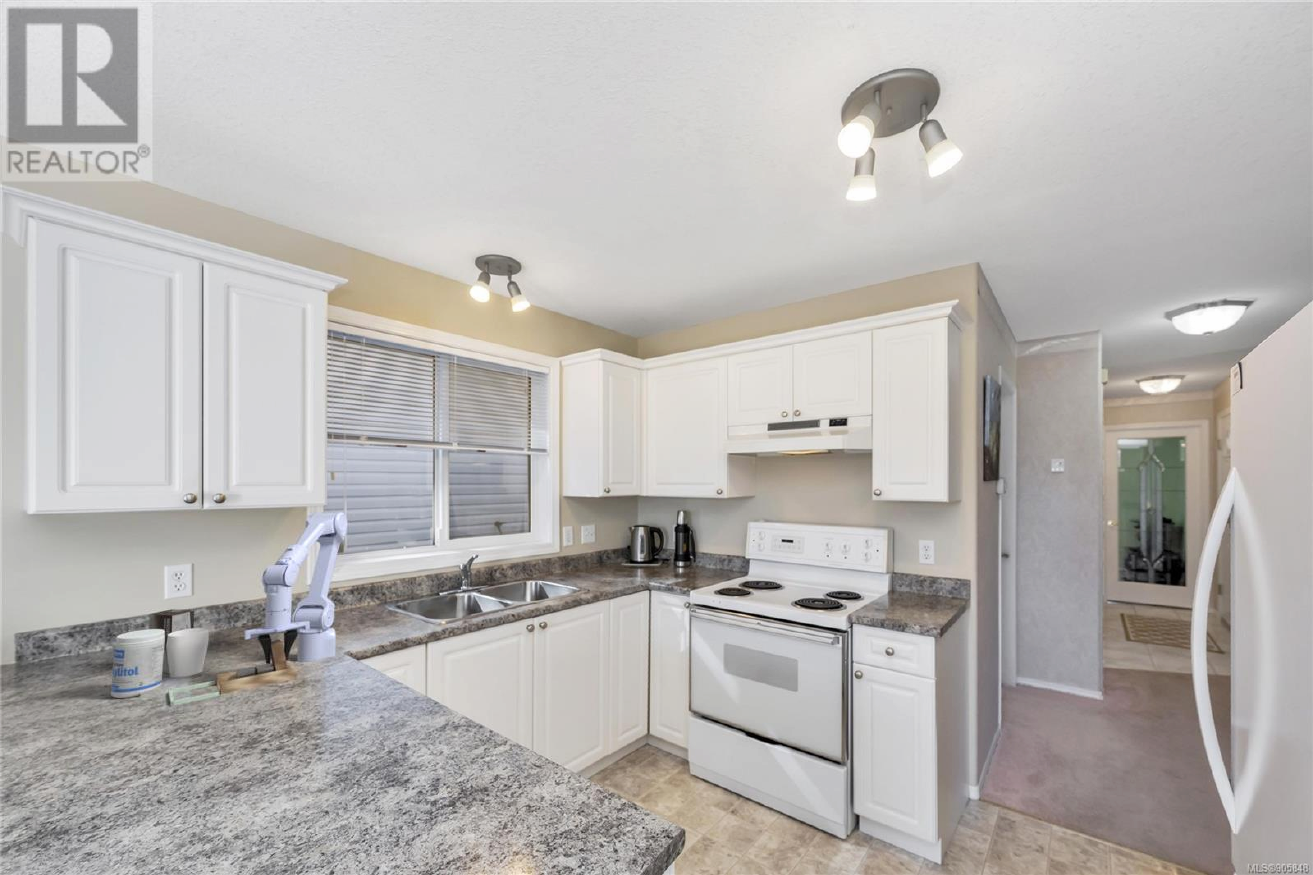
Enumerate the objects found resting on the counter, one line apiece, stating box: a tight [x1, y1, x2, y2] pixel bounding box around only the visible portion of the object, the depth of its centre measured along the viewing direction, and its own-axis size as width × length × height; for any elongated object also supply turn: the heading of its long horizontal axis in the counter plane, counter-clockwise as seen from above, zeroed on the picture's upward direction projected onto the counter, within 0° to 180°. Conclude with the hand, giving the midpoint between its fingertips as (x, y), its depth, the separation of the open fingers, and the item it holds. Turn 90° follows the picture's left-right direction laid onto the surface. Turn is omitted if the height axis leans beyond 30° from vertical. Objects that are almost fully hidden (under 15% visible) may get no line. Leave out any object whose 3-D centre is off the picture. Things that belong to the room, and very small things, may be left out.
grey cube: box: [254, 662, 274, 675], centre depth 148 cm, size 4×4×4 cm
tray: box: [167, 680, 220, 707], centre depth 139 cm, size 9×11×2 cm
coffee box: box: [148, 608, 195, 674], centre depth 162 cm, size 9×6×16 cm
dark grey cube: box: [236, 666, 255, 679], centre depth 146 cm, size 4×4×4 cm
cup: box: [166, 627, 210, 679], centre depth 155 cm, size 9×9×12 cm
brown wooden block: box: [270, 638, 288, 671], centre depth 151 cm, size 2×5×9 cm, turn 44°
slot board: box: [215, 660, 298, 695], centre depth 147 cm, size 16×10×3 cm, turn 133°
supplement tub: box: [110, 628, 165, 699], centre depth 144 cm, size 10×10×15 cm
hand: (276, 661), depth 150 cm, fingers closed on brown wooden block, 3 cm apart
